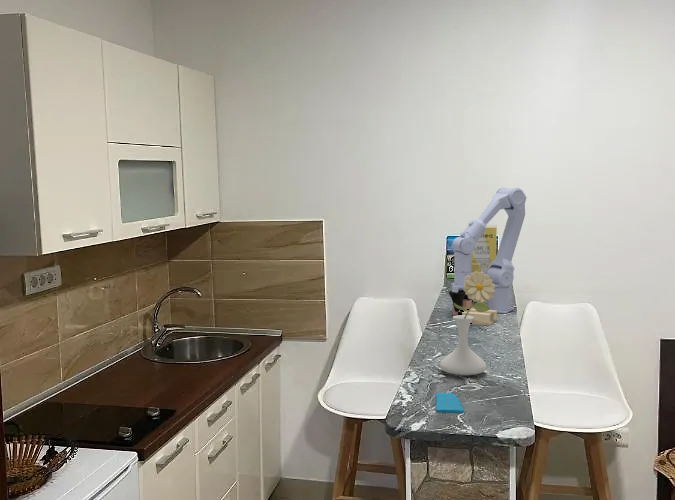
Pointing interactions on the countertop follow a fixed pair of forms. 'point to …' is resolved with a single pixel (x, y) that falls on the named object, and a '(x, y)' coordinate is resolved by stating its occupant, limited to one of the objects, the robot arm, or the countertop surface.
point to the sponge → (448, 403)
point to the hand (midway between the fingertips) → (462, 310)
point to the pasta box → (484, 250)
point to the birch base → (482, 316)
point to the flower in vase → (463, 356)
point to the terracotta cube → (464, 305)
